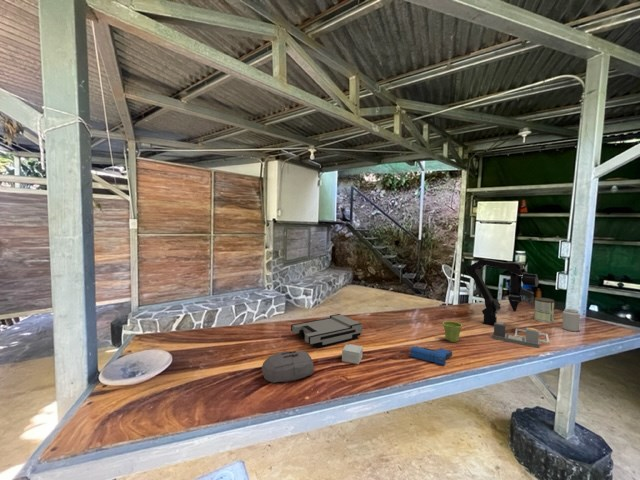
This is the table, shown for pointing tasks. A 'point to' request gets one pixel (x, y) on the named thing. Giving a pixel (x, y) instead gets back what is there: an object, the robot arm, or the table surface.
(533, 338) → the plug
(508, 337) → the strip
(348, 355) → the small box
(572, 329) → the can
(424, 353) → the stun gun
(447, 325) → the plant pot
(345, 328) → the game console
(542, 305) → the green desk organizer
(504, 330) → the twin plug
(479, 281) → the robot arm
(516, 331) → the white square frame
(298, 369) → the small grey backpack
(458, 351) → the table surface
